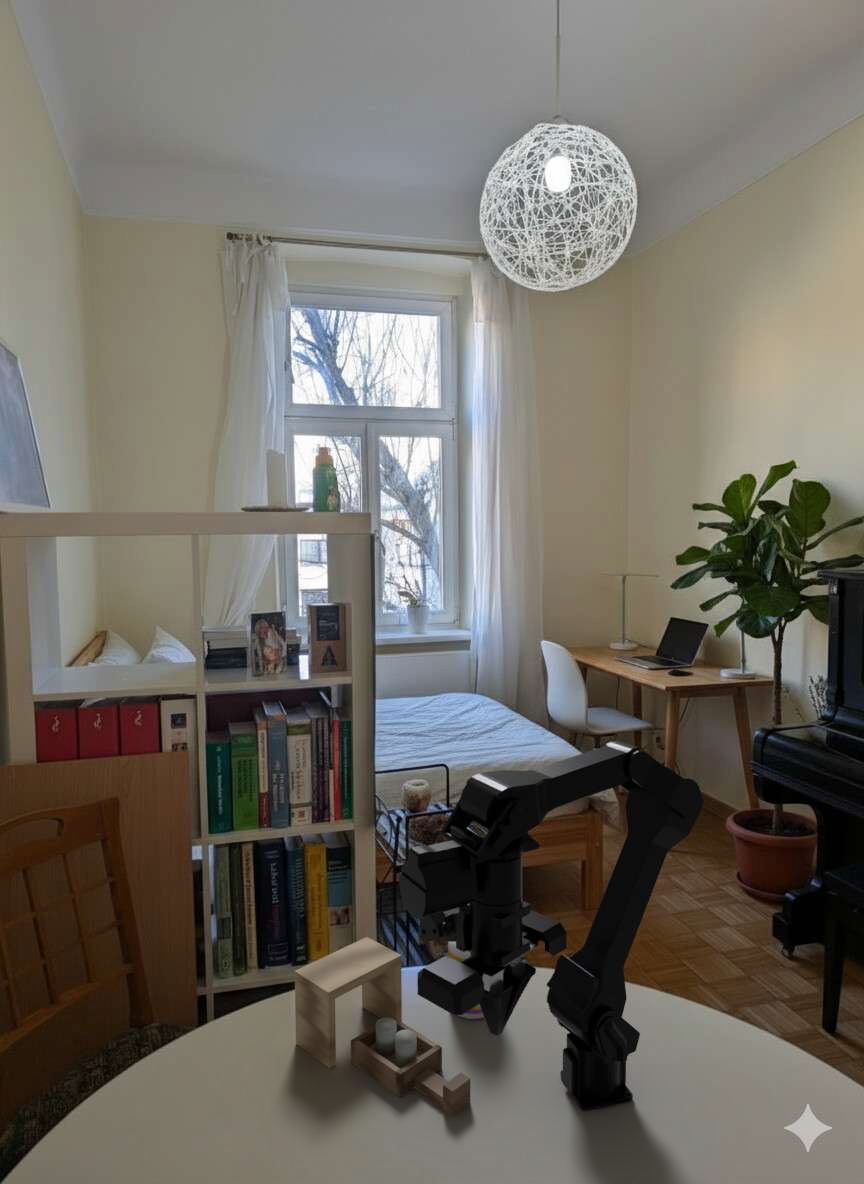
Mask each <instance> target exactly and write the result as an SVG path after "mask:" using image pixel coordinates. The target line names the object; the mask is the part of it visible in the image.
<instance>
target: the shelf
mask: <svg viewBox="0 0 864 1184" xmlns="http://www.w3.org/2000/svg"><path fill="white" fill-rule="evenodd" d="M358 987H361V1002H362V1003H361V1006H362V1008H364V1009H365V1010H366V1011H368V1012H369V1013H371V1014H373V1015H375V1016H376V1017H378V1018H379V1019H381V1018H384V1017H389V1018H390V1017H392V1016H393V1017H394V1018H396V1019H397V1020H399V1021H401V1022H402V1023H403V1020H402V1018H403V1016H402V1013H403V1011H402V1009H403V1008H402V1007H403V1006H402V1004H403V1002H402V1001H403V998H402V994H403V993H402V990H403V989H402V954H400V953H398V952H396V951H394V950H392V949H390V948H389V947H387V946H385V945H383V944H381V943H379V942H377V941H376V940H374V939H372V938H370V937H368V936H366V937H363V938H361V939H359V940H357V941H355V942H353V943H351V944H349V945H347V946H344V947H343V948H340V949H338V950H336V951H335V952H332V953H330V954H327V955H326V956H324V957H322V958H319V959H317V960H315V961H313V962H310V963H309V964H306V965H304V966H302V967H300V968H298V969H296V970H294V997H295V999H294V1003H295V1004H294V1005H295V1007H294V1008H295V1010H294V1011H295V1015H294V1016H295V1043H296V1045H298V1047H300V1048H302V1049H303V1050H304V1051H306V1052H307V1053H308V1054H310V1055H311V1056H312V1057H314V1058H315V1059H316V1060H317V1061H319V1062H321V1063H322V1064H323V1065H324V1066H326V1067H327V1068H328V1069H331V1068H333V1067H334V1066H336V1064H337V1045H336V1041H337V1040H336V1034H337V1033H336V1032H337V1031H336V999H337V998H339V997H341V996H343V995H345V994H347V993H348V992H350V991H352V990H354V989H357V988H358Z"/></svg>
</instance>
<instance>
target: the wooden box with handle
mask: <svg viewBox="0 0 864 1184" xmlns="http://www.w3.org/2000/svg"><path fill="white" fill-rule="evenodd" d="M350 1062H351V1063H352V1064H354V1066H356V1067H357V1068H359V1069H360V1070H361V1071H363V1072H364V1073H365V1074H367V1075H368V1076H369V1077H371V1078H373V1080H375V1081H377V1082H378V1083H379V1084H381V1085H382V1086H384V1087H385V1088H386V1089H388V1090H390V1091H391V1092H392V1093H393V1094H395V1095H396V1096H397V1097H399V1098H401V1097H403V1096H404V1095H406V1094H407V1093H409V1092H410V1091H412V1090H413V1089H416V1090H417V1091H419V1092H420V1093H422V1094H423V1095H424V1096H426V1097H427V1098H428V1099H430V1100H432V1101H433V1102H434V1103H436V1104H437V1105H438V1106H440V1107H442V1111H444V1112H445V1113H447V1114H448V1115H450V1116H451V1117H454V1116H456V1115H457V1114H458V1113H459V1112H461V1111H462V1110H464V1109H465V1108H466V1107H468V1105H470V1104H471V1078H470V1077H468V1075H465V1074H464V1073H463V1072H459V1073H458V1074H456V1075H455V1076H454V1077H452V1078H451V1079H449V1080H447V1079H446V1078H444V1077H442V1076H441V1075H439V1074H438V1072H439V1071H442V1069H443V1047H442V1046H441V1045H440V1044H438V1043H436V1042H435V1041H433V1040H431V1039H430V1038H428V1037H426V1036H424V1034H422V1033H420V1032H418V1031H417V1030H415V1029H413V1028H412V1027H411V1026H409V1025H407V1024H405V1023H404V1022H403V1021H402V1022H401V1021H399V1020H397V1019H396V1018H394V1017H393V1016H392V1017H390V1018H389V1017H384V1018H379V1019H377V1020H376V1022H375V1026H372V1027H371V1028H370V1029H369V1030H366V1031H365V1032H363V1033H361V1034H359V1035H358V1036H356V1037H354V1038H352V1039H350Z"/></svg>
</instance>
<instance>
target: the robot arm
mask: <svg viewBox="0 0 864 1184" xmlns="http://www.w3.org/2000/svg"><path fill="white" fill-rule="evenodd" d="M619 786H620V787H621V788H622V789H623V790H624V791H626V792H627V793H628V794H627V797H626V801H625V805H624V811H625V812H624V813H625V819H626V828H627V834H626V837H625V839H624V843H623V845H622V848H621V850H620V853H619V856H618V858H617V860H616V862H615V863H616V864H615V865H614V868H613V870H612V873H611V876H610V877H609V881H608V883H607V886H606V888H605V890H604V893H603V896H602V898H601V901H600V903H599V906H598V909H597V911H596V913H595V916H594V919H593V922H592V924H591V926H590V929H589V931H588V933H587V936H586V939H585V941H584V944H583V945H582V947H581V948H580V949H578V950H577V951H576V952H574V953H573V954H572V955H571V956H567V955H566V954H563V953H562V954H561V955H560V956H559V957H558V958H557V960H556V961H557V962H556V964H555V969H554V971H553V973H552V976H551V977H550V979H549V980H548V982H547V983H546V987H547V988H549V989H548V992H547V995H546V1003H547V1005H548V1010H549V1011H550V1013H551V1014H552V1016H553V1017H554V1018H556V1020H557V1023H558V1025H559V1026H561V1028H564V1029H565V1030H566V1031H568V1033H566V1047H565V1048H563V1049H562V1069H561V1070H560V1077H561V1079H562V1082H563V1084H564V1085H565V1087H566V1088H567V1090H568V1092H569V1093H570V1095H572V1096H573V1097H574V1099H575V1101H576V1102H577V1104H578V1106H579V1107H580V1108H581V1109H582V1110H583V1111H588V1110H594V1109H598V1108H603V1107H608V1106H611V1105H618V1104H621V1103H625V1102H626V1103H627V1102H631V1101H633V1099H634V1098H633V1097H634V1095H633V1093H632V1092H631V1090H630V1089H629V1087H628V1086H627V1061H628V1057H629V1055H630V1054H632V1053H635V1052H636V1051H637V1047H638V1044H639V1040H640V1036H641V1033H640V1032H639V1031H638V1029H636V1027H635V1028H634V1026H632V1025H631V1024H630V1023H629V1022H628V1021H627V1020H625V1018H623V1015H624V1011H625V1007H626V1003H627V990H626V980H625V971H624V969H625V968H624V967H625V965H626V962H627V960H628V959H627V958H628V957H629V953H630V951H631V948H632V945H633V943H634V940H635V939H636V936H637V933H638V930H639V928H640V924H641V923H642V920H643V917H644V914H645V912H646V910H647V907H648V903H649V901H650V899H651V897H652V896H651V895H652V894H653V892H654V888H655V885H656V883H657V880H658V877H659V875H660V873H661V870H662V867H663V864H664V862H665V859H666V857H667V855H668V853H669V852H670V850H671V849H672V848H674V847H675V846H676V845H677V844H679V843H680V842H682V841H683V840H684V839H685V838H687V837H688V836H689V835H690V833H691V831H692V829H693V827H694V826H695V823H696V821H697V819H698V818H699V816H700V814H701V811H702V809H703V806H704V805H703V804H704V796H703V795H702V793H701V788H700V786H699V783H697V782H696V781H695V780H694V779H692V778H689V777H687V776H684V775H680V774H678V773H677V772H675V771H673V770H672V769H670V768H669V767H668V766H665V765H664V764H662V763H661V762H659V761H658V760H657V759H655V758H654V757H653V756H652V755H650V754H649V753H648V752H646V751H645V750H644V748H641V747H639V746H636V745H633V744H630V743H626V742H623V741H620V740H614V741H609V742H607V743H606V744H605V745H604V746H601V747H598V748H594V749H592V750H589V751H586V752H583V753H579V754H576V755H574V756H571V757H567V758H565V759H562V760H559V761H556V762H554V763H550V764H547V765H544V766H541V767H538V768H535V769H530V770H510V769H509V770H507V769H505V770H504V769H503V770H492V771H486V772H479V773H476V774H474V775H472V776H470V777H469V779H468V780H466V783H465V786H464V788H463V789H462V790H461V791H462V792H461V794H460V797H459V800H458V801H457V802H456V805H455V806H454V808H453V810H452V812H451V813H450V815H449V816H448V818H447V820H446V822H445V824H444V825H443V827H442V828H441V830H440V837H441V838H443V839H444V840H446V841H442V842H439V843H434V844H430V845H429V844H428V845H417V846H413V847H410V848H409V849H408V856H409V857H408V859H406V860H404V862H403V863H402V866H401V869H400V872H399V873H398V883H399V884H398V885H399V890H400V896H401V899H402V902H403V904H404V907H405V908H406V910H407V913H409V915H410V916H411V917H412V918H414V919H420V920H419V929H420V933H421V937H422V938H423V940H425V941H426V942H434V943H435V944H441V943H442V942H447V943H448V942H456V948H457V949H459V950H461V951H463V952H465V951H469V952H470V955H471V957H469V958H467V959H465V960H464V961H462V962H458V961H456V960H454V959H452V958H450V957H448V955H444V956H443V957H441V958H439V959H437V960H435V961H434V962H432V963H430V964H428V965H426V966H425V967H423V968H422V969H420V970H419V971H418V972H417V978H416V979H417V980H416V981H417V995H418V996H419V997H422V998H423V999H424V1000H426V1001H428V1002H430V1003H432V1004H434V1005H435V1006H437V1007H439V1008H441V1009H442V1010H444V1011H445V1012H448V1013H449V1014H451V1015H453V1016H458V1015H463V1014H464V1013H466V1012H467V1011H469V1010H470V1009H472V1008H474V1007H475V1006H477V1005H478V1004H480V1007H481V1010H482V1012H483V1015H484V1019H485V1020H484V1021H485V1023H486V1026H487V1028H488V1031H489V1033H490V1034H492V1035H494V1036H496V1037H498V1036H500V1035H502V1033H503V1031H504V1030H505V1028H506V1026H507V1023H508V1021H509V1020H510V1018H511V1016H512V1014H513V1012H514V1009H515V1008H516V1006H517V1004H518V1002H519V1001H520V999H521V997H522V994H523V993H524V991H525V989H526V987H527V986H528V984H529V982H530V981H531V979H532V977H533V976H535V974H536V972H537V969H536V967H535V966H533V965H531V964H529V963H527V960H526V959H527V958H526V957H525V954H527V953H529V952H530V951H532V950H533V949H535V948H537V947H539V942H542V943H544V951H545V953H547V954H548V955H549V956H551V957H555V956H557V955H558V954H559V953H561V952H563V951H564V950H566V949H567V944H568V943H567V941H568V940H567V937H568V936H567V935H568V934H567V933H568V932H567V930H566V929H565V927H564V925H562V923H561V921H559V920H556V919H554V918H552V917H549V916H546V915H544V914H541V913H539V912H536V911H534V910H532V909H531V903H528V902H526V901H523V854H524V853H528V852H532V851H535V850H536V851H537V850H539V849H540V847H541V844H540V843H539V842H538V841H537V840H536V839H534V838H533V837H532V836H531V835H530V833H529V832H530V831H532V830H534V829H536V828H537V827H539V826H540V824H541V823H542V822H543V820H544V818H545V817H546V816H547V814H550V812H553V811H554V810H555V809H558V808H561V807H564V806H566V805H569V804H572V803H575V802H577V801H580V800H582V799H583V800H584V799H586V798H589V797H591V796H594V795H596V794H600V793H602V792H605V791H607V790H610V789H613V788H616V787H619ZM471 824H472V825H473V826H474V827H477V828H478V829H480V830H481V831H483V832H485V833H487V834H486V835H485V836H484V837H482V836H481V835H478V834H477V833H475V832H473V831H472V830H471V829H469V828H468V827H469V826H471Z"/></svg>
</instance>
